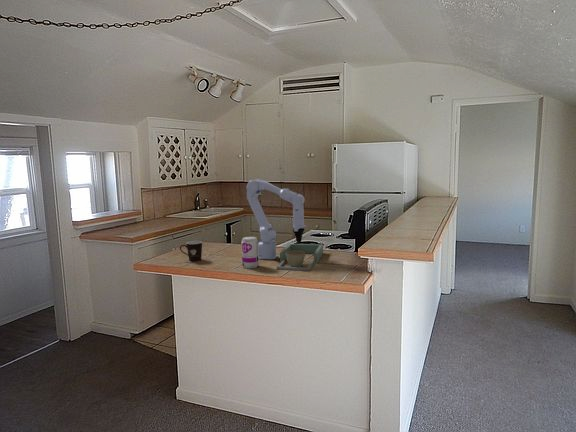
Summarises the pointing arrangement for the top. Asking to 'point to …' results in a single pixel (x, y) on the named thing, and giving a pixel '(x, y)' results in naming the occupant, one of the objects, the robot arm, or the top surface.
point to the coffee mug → (193, 250)
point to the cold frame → (306, 248)
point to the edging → (294, 267)
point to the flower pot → (295, 258)
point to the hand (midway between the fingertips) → (298, 242)
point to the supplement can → (249, 252)
